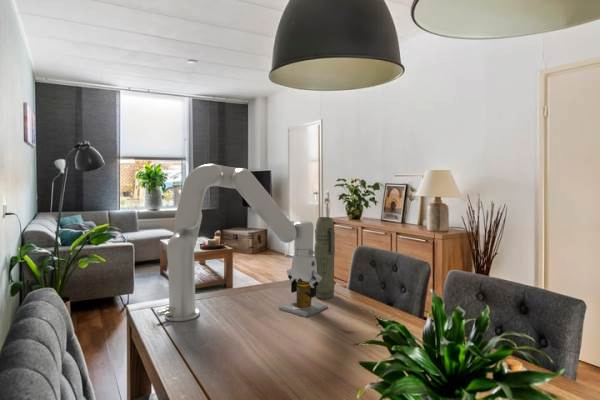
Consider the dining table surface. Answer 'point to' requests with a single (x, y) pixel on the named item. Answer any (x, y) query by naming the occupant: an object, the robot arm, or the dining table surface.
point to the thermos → (325, 257)
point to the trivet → (304, 312)
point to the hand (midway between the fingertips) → (303, 294)
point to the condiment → (302, 296)
